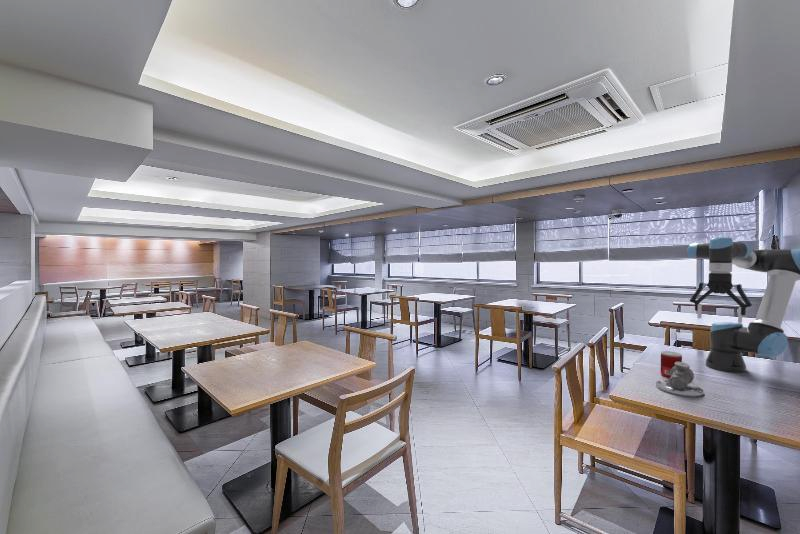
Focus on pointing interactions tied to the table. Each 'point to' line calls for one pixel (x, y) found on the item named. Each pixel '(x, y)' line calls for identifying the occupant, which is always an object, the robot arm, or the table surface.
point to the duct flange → (688, 391)
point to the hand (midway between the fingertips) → (719, 320)
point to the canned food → (669, 362)
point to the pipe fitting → (681, 375)
